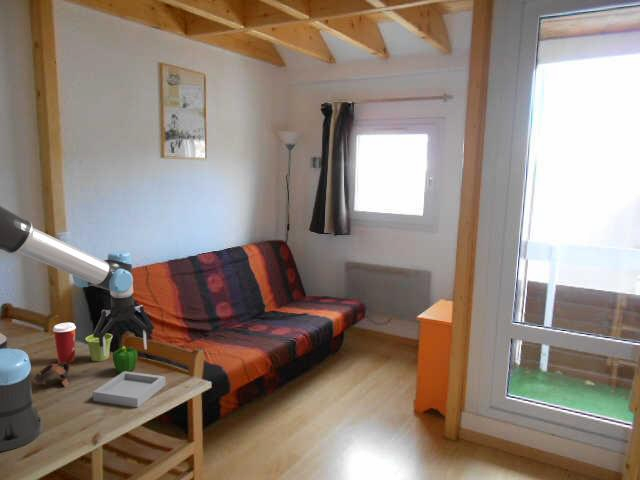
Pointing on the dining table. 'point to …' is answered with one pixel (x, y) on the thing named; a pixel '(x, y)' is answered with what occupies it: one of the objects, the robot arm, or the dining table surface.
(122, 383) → the gray square tray
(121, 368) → the bell pepper
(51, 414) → the dining table surface
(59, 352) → the paper cup
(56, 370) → the pottery mug
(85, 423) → the dining table surface
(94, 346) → the plant pot
